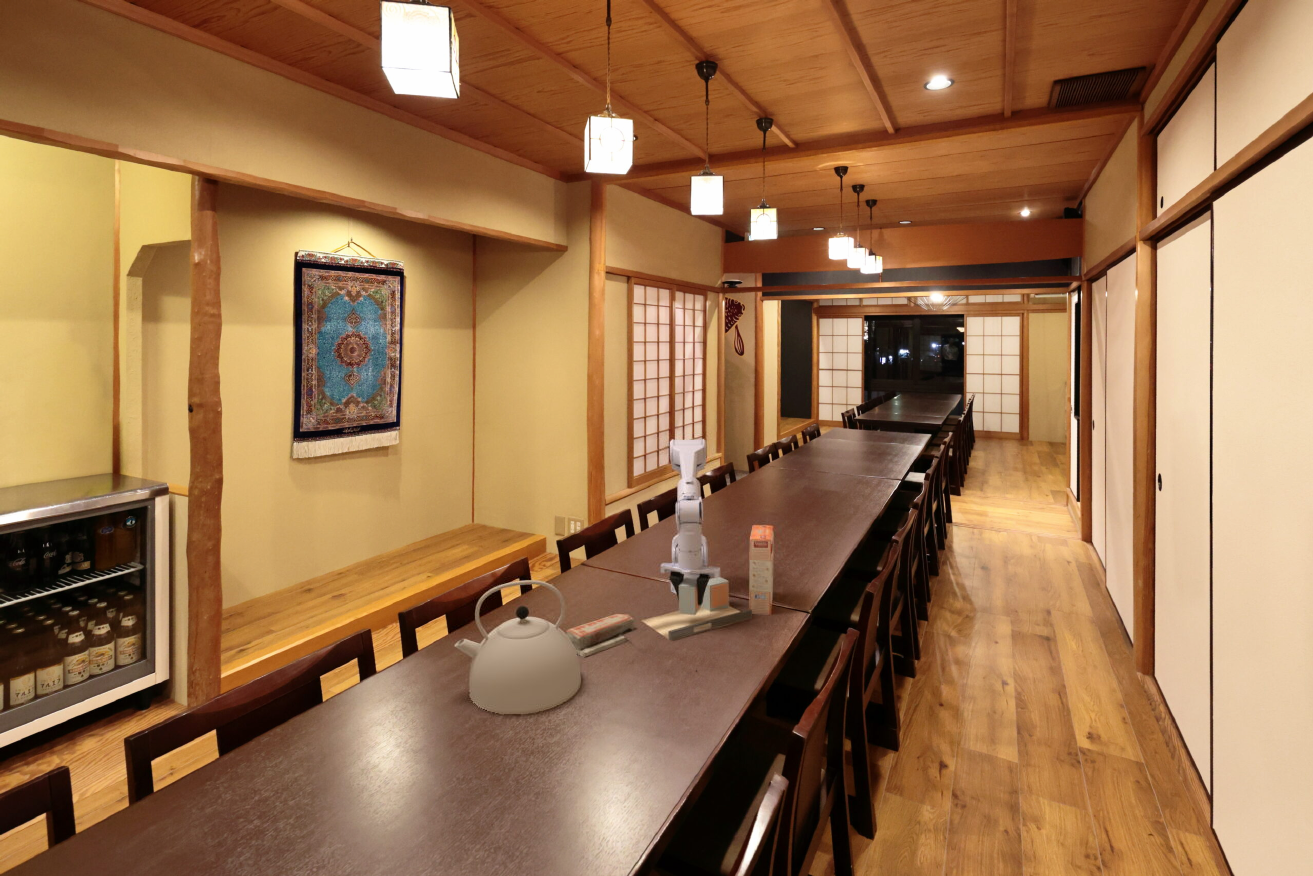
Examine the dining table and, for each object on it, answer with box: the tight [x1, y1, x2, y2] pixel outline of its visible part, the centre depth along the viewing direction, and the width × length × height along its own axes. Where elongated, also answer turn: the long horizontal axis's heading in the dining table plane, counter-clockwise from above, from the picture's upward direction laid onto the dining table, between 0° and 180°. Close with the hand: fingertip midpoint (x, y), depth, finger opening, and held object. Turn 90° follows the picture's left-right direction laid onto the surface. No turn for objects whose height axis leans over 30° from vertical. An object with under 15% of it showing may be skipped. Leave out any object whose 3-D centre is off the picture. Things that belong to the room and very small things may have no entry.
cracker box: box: [748, 524, 775, 616], centre depth 176 cm, size 14×6×21 cm, turn 168°
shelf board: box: [641, 605, 753, 641], centre depth 168 cm, size 14×24×3 cm, turn 121°
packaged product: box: [565, 613, 635, 658], centre depth 160 cm, size 18×5×10 cm
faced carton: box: [701, 576, 730, 612], centre depth 175 cm, size 4×6×7 cm
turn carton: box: [678, 577, 701, 615], centre depth 164 cm, size 4×6×7 cm
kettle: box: [454, 579, 582, 715], centre depth 138 cm, size 25×23×22 cm
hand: (690, 602), depth 164 cm, fingers closed on turn carton, 4 cm apart
